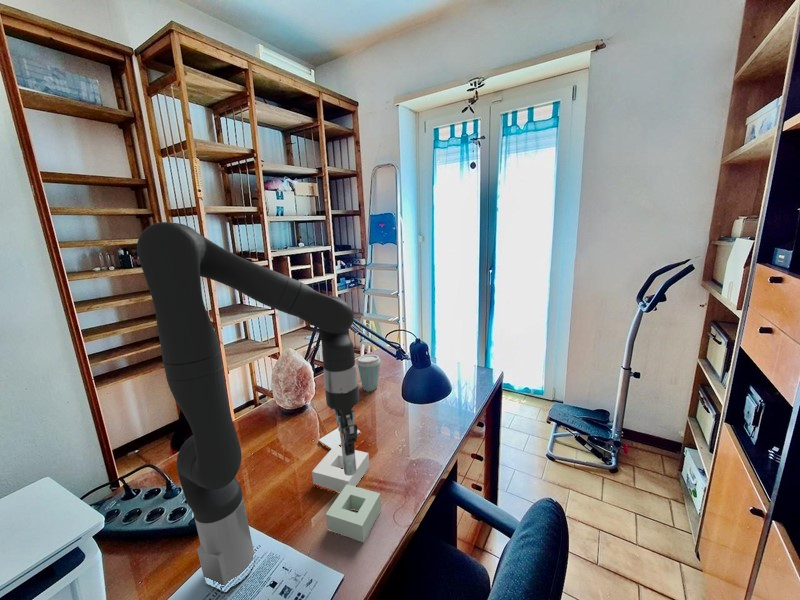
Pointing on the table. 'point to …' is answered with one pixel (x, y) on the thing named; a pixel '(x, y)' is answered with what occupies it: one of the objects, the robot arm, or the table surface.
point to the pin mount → (352, 522)
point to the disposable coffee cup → (369, 371)
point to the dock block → (339, 470)
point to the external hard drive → (333, 438)
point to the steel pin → (348, 460)
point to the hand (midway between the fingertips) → (348, 449)
